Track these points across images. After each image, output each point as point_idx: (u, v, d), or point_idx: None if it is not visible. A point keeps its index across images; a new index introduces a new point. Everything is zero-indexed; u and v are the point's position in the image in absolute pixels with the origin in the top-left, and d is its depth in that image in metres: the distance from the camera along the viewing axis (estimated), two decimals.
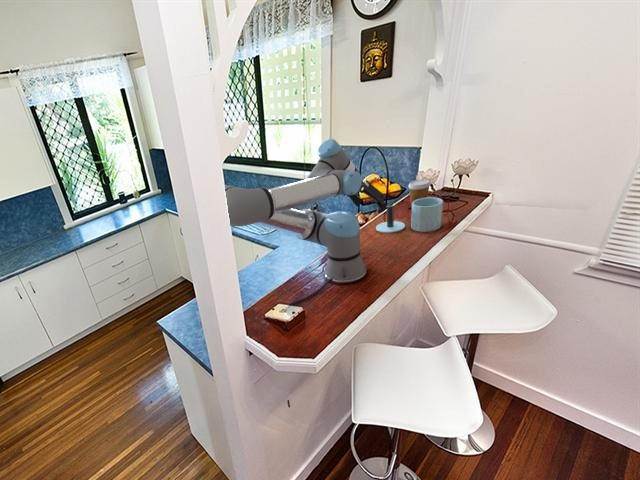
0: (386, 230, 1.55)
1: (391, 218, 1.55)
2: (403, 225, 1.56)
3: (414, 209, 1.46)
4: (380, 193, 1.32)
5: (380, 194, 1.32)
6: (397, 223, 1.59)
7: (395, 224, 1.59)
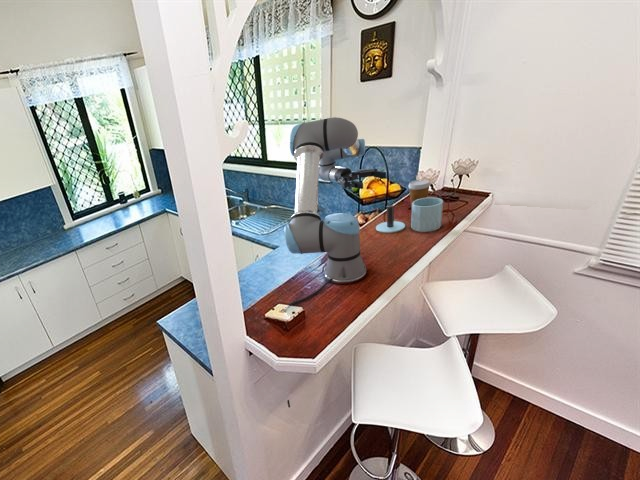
0: (386, 230, 1.55)
1: (391, 218, 1.55)
2: (403, 225, 1.56)
3: (414, 209, 1.46)
4: None
5: None
6: (397, 223, 1.59)
7: (395, 224, 1.59)
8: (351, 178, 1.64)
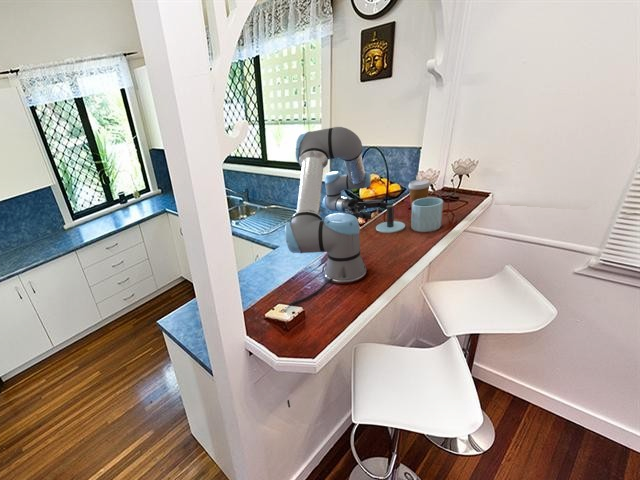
0: (386, 230, 1.55)
1: (391, 218, 1.55)
2: (403, 225, 1.56)
3: (414, 209, 1.46)
4: None
5: None
6: (397, 223, 1.59)
7: (395, 224, 1.59)
8: (358, 209, 1.68)
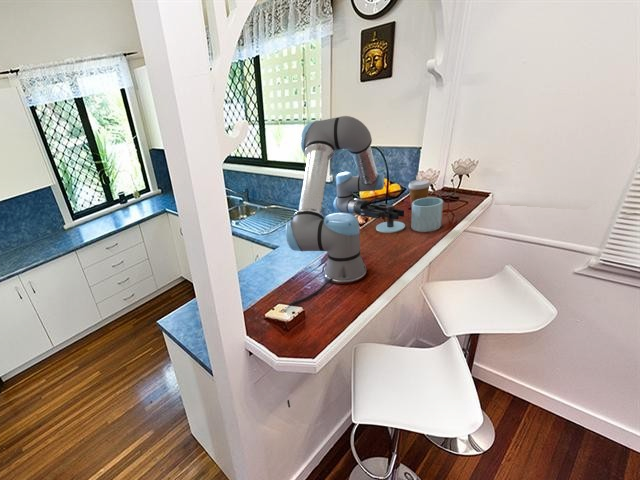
0: (386, 230, 1.55)
1: (391, 218, 1.55)
2: (403, 225, 1.56)
3: (414, 209, 1.46)
4: None
5: None
6: (397, 223, 1.59)
7: (395, 224, 1.58)
8: (371, 211, 1.61)
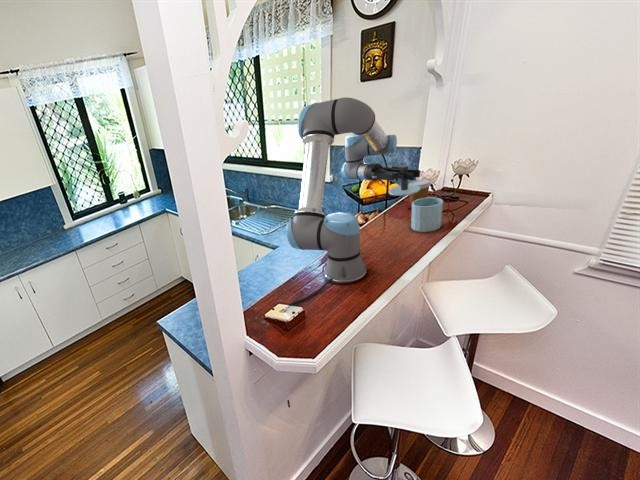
0: (400, 193, 1.44)
1: (405, 180, 1.44)
2: (418, 187, 1.45)
3: (414, 209, 1.46)
4: None
5: None
6: (411, 186, 1.48)
7: (409, 187, 1.48)
8: None
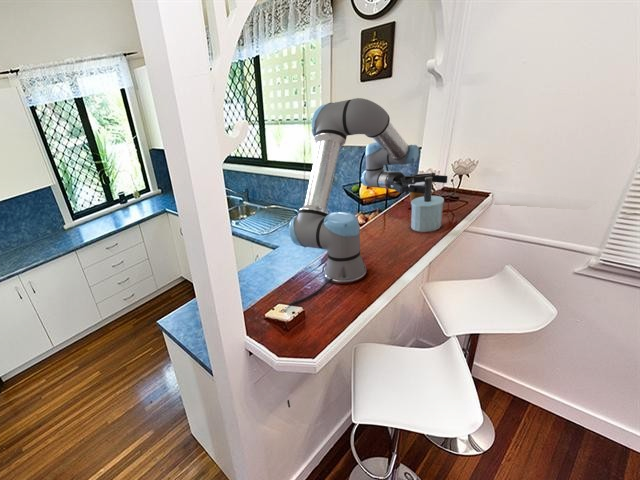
0: (424, 204, 1.43)
1: (429, 191, 1.42)
2: (442, 199, 1.43)
3: (414, 209, 1.46)
4: None
5: None
6: (434, 197, 1.46)
7: (432, 198, 1.46)
8: (406, 183, 1.49)
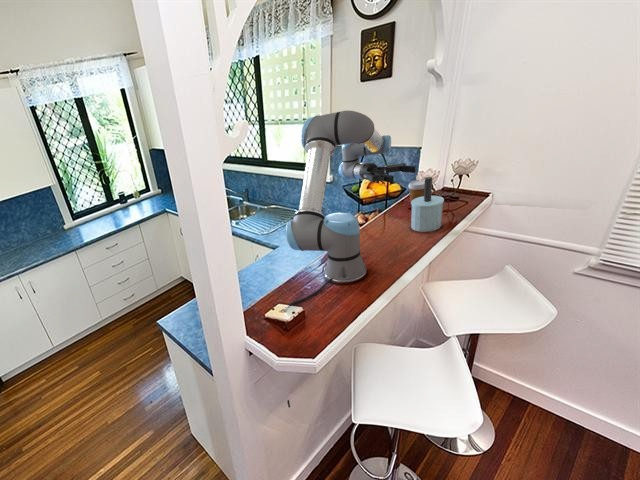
0: (424, 204, 1.43)
1: (429, 191, 1.42)
2: (442, 199, 1.43)
3: (414, 209, 1.46)
4: None
5: None
6: (434, 197, 1.46)
7: (432, 198, 1.46)
8: (378, 173, 1.58)
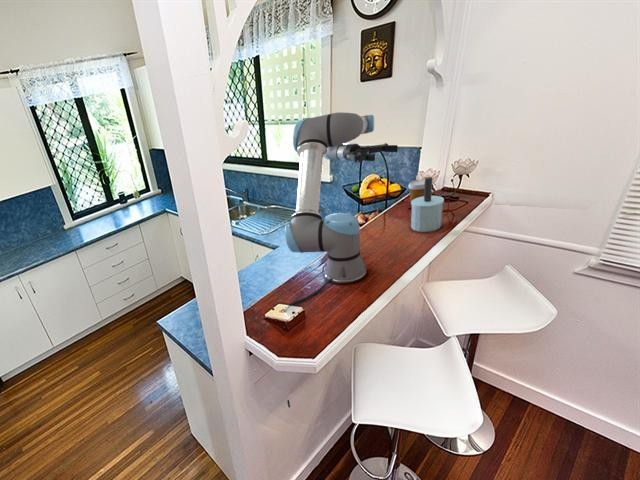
0: (424, 204, 1.43)
1: (429, 191, 1.42)
2: (442, 199, 1.43)
3: (414, 209, 1.46)
4: None
5: None
6: (434, 197, 1.46)
7: (432, 198, 1.46)
8: (361, 153, 1.58)
